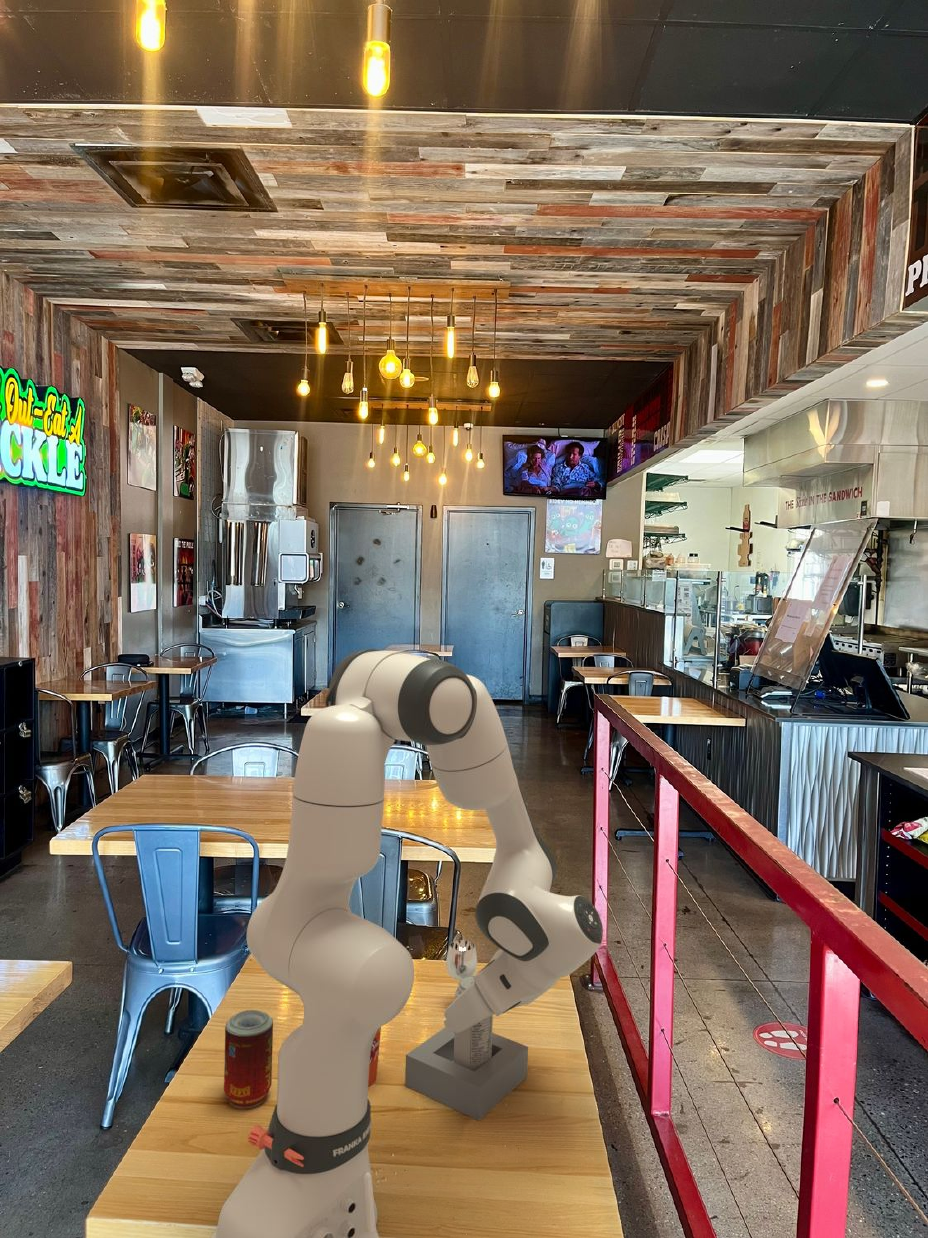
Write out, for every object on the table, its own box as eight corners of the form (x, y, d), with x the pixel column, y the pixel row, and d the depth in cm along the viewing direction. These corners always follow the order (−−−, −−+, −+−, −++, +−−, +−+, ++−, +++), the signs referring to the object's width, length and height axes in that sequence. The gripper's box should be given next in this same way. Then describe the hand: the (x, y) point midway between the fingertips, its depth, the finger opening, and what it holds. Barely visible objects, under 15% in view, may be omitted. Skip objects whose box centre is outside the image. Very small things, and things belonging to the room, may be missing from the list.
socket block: (478, 1121, 124) (479, 1088, 124) (404, 1086, 132) (405, 1055, 132) (527, 1077, 136) (528, 1047, 136) (456, 1047, 144) (457, 1018, 144)
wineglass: (445, 1000, 160) (447, 938, 159) (475, 1002, 160) (478, 939, 159) (443, 1015, 154) (445, 951, 154) (475, 1017, 154) (477, 953, 153)
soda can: (229, 1083, 131) (231, 1006, 131) (275, 1083, 132) (277, 1007, 131) (218, 1111, 124) (220, 1030, 124) (266, 1112, 125) (268, 1031, 124)
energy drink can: (474, 1060, 138) (477, 970, 137) (498, 1078, 133) (501, 985, 133) (445, 1073, 134) (448, 980, 134) (469, 1091, 129) (471, 995, 129)
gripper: (542, 931, 138) (490, 972, 144) (472, 976, 121) (416, 1021, 127) (565, 965, 135) (511, 1006, 141) (497, 1017, 119) (439, 1060, 125)
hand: (465, 1013), depth 134 cm, fingers open, 8 cm apart
